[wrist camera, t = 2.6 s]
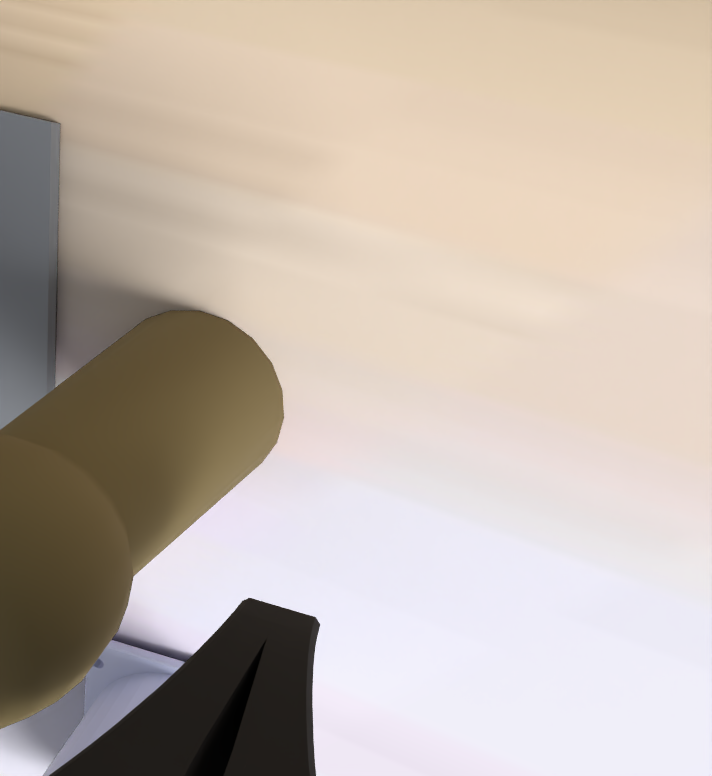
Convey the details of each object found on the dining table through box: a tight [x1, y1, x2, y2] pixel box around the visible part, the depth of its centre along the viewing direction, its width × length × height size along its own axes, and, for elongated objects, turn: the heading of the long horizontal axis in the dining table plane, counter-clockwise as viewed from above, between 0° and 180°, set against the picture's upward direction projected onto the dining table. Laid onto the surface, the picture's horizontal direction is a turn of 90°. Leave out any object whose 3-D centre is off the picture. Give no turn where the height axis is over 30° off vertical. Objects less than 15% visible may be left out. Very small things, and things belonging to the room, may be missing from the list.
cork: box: [0, 310, 284, 729], centre depth 14 cm, size 6×6×11 cm
